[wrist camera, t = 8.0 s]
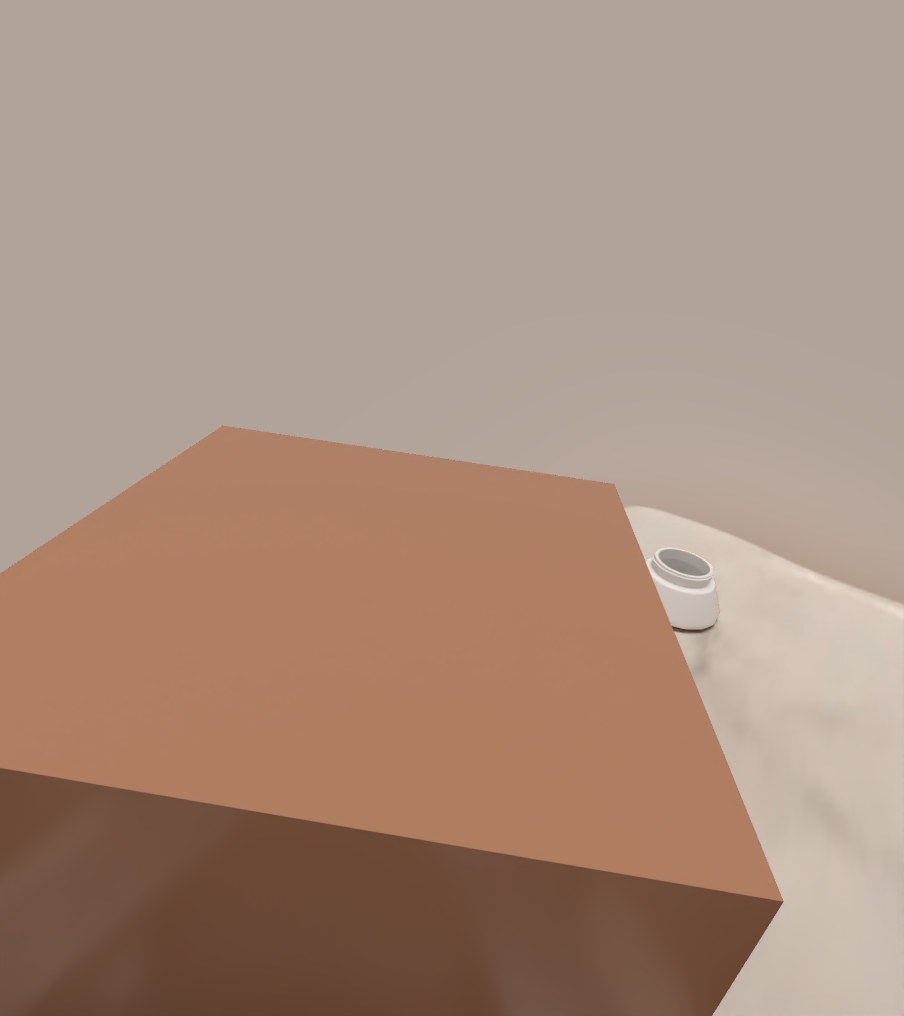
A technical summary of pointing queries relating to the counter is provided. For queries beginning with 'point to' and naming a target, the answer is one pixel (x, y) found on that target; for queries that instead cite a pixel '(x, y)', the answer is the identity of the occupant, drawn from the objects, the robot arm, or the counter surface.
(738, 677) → the counter surface
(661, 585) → the lidless jar
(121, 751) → the brown rectangular block
